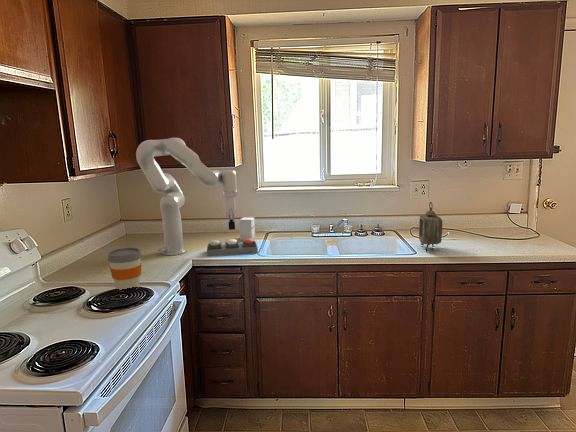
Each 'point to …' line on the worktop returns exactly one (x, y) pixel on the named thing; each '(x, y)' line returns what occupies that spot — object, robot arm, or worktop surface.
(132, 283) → the reusable coffee cup
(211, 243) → the sage button
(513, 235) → the worktop surface
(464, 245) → the worktop surface
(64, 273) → the worktop surface
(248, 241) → the red button
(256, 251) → the button panel
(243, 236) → the supplement box
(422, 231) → the dark metal lantern
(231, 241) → the ivory button
